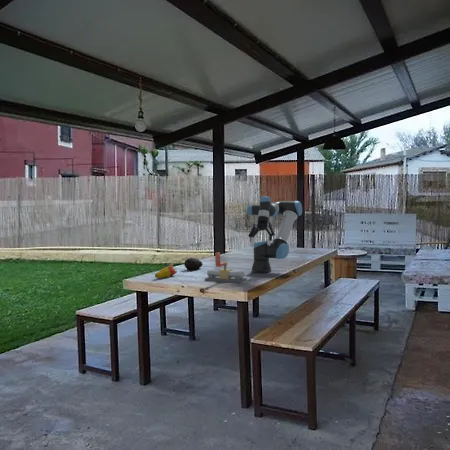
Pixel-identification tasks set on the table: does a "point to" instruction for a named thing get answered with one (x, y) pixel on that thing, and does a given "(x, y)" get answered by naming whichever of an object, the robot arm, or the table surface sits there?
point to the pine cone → (192, 264)
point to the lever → (217, 260)
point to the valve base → (225, 275)
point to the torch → (166, 272)
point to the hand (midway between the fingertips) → (260, 245)
